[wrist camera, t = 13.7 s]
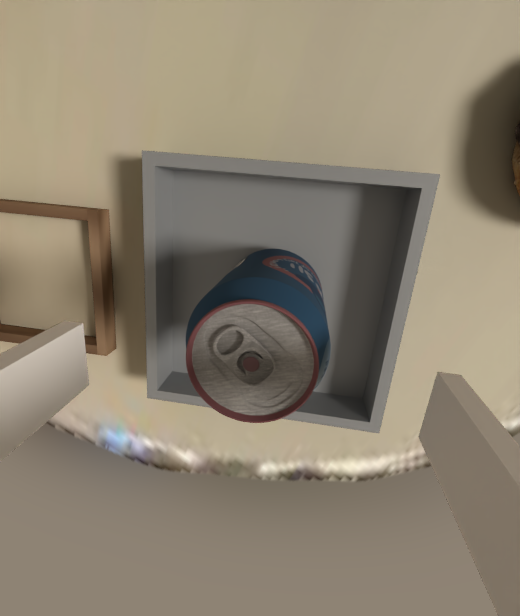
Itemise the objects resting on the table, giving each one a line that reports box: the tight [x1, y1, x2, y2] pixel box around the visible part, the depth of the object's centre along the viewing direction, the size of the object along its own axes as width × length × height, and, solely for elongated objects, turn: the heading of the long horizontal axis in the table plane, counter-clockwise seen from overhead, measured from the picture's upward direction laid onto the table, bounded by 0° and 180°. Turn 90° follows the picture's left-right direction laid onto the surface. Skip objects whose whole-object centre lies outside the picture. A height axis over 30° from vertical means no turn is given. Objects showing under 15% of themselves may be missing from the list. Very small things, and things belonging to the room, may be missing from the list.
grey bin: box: [142, 151, 440, 433], centre depth 24 cm, size 18×18×4 cm
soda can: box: [186, 249, 331, 423], centre depth 20 cm, size 7×7×12 cm
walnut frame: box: [0, 199, 116, 356], centre depth 27 cm, size 12×12×2 cm
